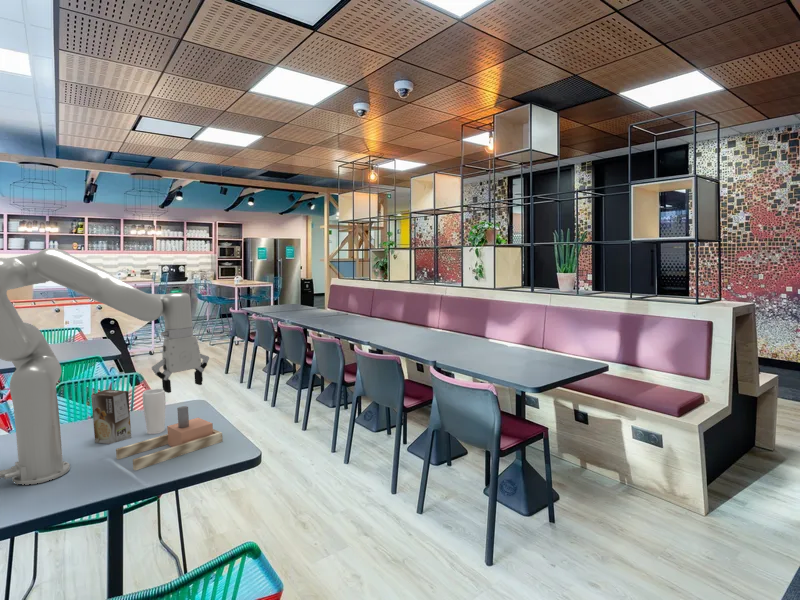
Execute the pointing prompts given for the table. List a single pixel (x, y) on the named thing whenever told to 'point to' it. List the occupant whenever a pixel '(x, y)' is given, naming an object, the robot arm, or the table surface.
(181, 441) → the salmon block with knob
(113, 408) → the coffee box
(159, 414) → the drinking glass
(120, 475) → the table surface
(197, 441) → the bay
